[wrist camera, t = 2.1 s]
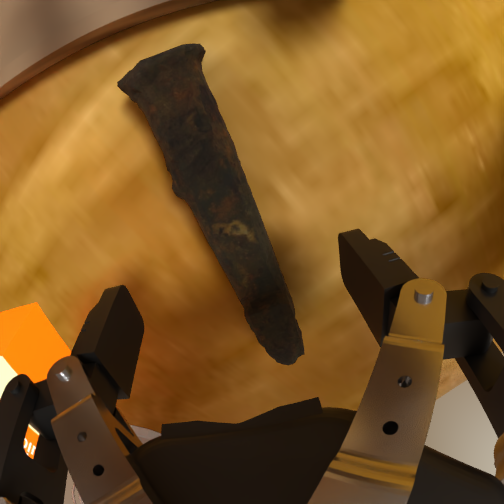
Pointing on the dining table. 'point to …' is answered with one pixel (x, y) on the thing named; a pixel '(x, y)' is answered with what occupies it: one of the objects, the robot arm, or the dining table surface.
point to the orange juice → (28, 351)
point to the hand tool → (216, 189)
